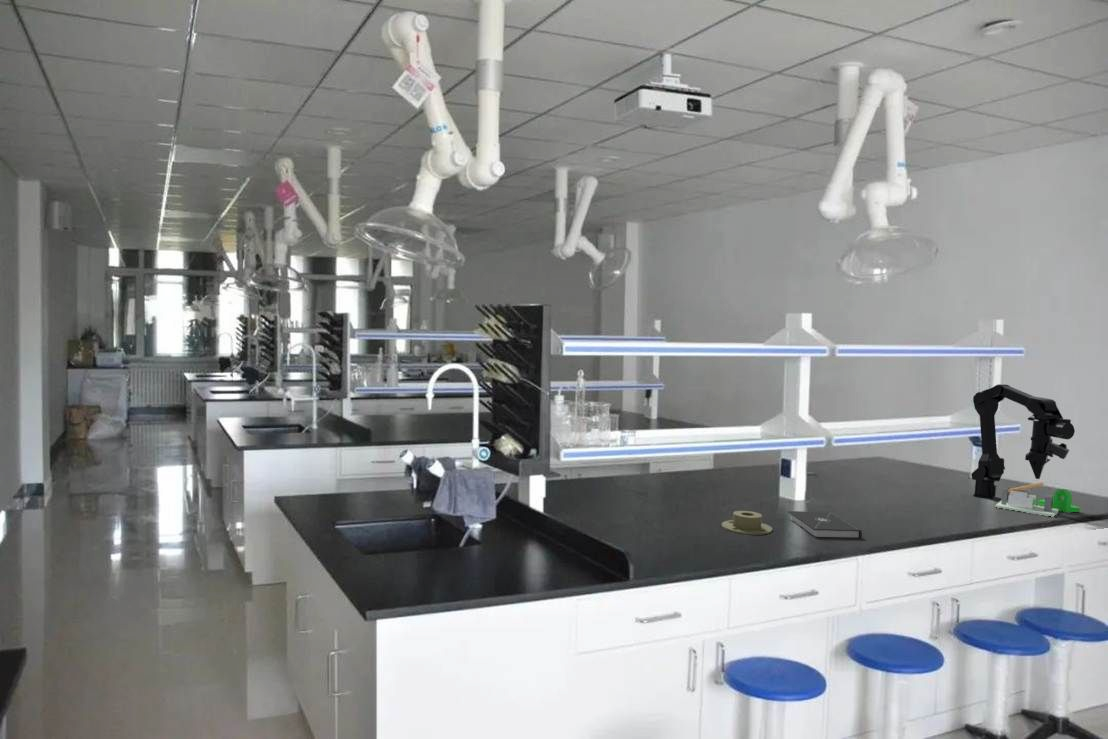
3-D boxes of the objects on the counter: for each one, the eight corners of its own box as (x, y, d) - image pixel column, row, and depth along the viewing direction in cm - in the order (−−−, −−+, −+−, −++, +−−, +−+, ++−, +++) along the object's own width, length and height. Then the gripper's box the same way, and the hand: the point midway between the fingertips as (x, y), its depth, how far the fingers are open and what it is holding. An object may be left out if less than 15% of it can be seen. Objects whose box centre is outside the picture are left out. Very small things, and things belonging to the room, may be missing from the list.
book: (861, 540, 243) (862, 530, 243) (812, 539, 242) (813, 529, 242) (831, 521, 265) (832, 512, 264) (786, 520, 264) (787, 510, 263)
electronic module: (1000, 504, 293) (1001, 489, 292) (1004, 501, 298) (1005, 486, 298) (1049, 512, 283) (1051, 496, 283) (1052, 509, 289) (1054, 493, 288)
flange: (742, 505, 260) (712, 512, 250) (783, 516, 249) (753, 523, 239) (741, 520, 260) (711, 527, 250) (782, 531, 249) (752, 538, 239)
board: (995, 507, 292) (995, 505, 291) (1001, 502, 301) (1001, 499, 301) (1053, 517, 280) (1054, 514, 280) (1058, 511, 290) (1059, 508, 290)
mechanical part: (1079, 513, 290) (1081, 490, 289) (1065, 513, 288) (1067, 491, 288) (1051, 505, 301) (1053, 483, 301) (1038, 505, 300) (1039, 483, 299)
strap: (1003, 493, 294) (1002, 490, 294) (1005, 492, 296) (1004, 489, 296) (1042, 486, 286) (1041, 482, 286) (1044, 484, 288) (1042, 481, 289)
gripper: (1064, 440, 275) (1060, 486, 276) (1071, 435, 290) (1067, 478, 291) (1026, 436, 282) (1023, 481, 283) (1035, 431, 296) (1032, 473, 298)
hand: (1037, 478), depth 288 cm, fingers closed
